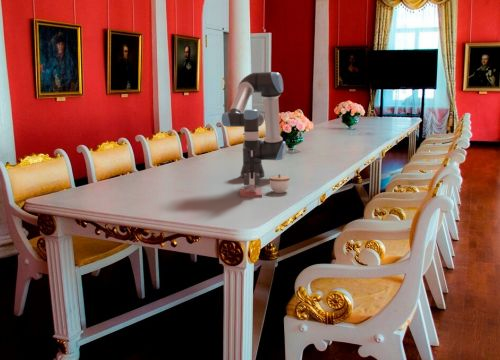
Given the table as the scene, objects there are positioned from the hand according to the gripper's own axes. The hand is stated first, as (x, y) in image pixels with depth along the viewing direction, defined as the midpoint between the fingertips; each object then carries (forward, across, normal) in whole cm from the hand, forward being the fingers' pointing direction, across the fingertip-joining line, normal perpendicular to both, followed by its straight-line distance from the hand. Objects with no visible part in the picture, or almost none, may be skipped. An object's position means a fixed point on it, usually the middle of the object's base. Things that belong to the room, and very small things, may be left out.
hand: (251, 183), depth 276 cm
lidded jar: (+6, -5, +15) cm, 17 cm away
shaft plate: (+6, 0, 0) cm, 6 cm away
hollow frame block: (0, 0, 0) cm, 0 cm away
